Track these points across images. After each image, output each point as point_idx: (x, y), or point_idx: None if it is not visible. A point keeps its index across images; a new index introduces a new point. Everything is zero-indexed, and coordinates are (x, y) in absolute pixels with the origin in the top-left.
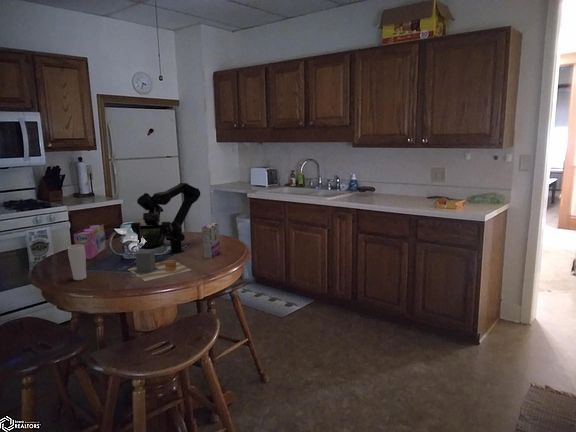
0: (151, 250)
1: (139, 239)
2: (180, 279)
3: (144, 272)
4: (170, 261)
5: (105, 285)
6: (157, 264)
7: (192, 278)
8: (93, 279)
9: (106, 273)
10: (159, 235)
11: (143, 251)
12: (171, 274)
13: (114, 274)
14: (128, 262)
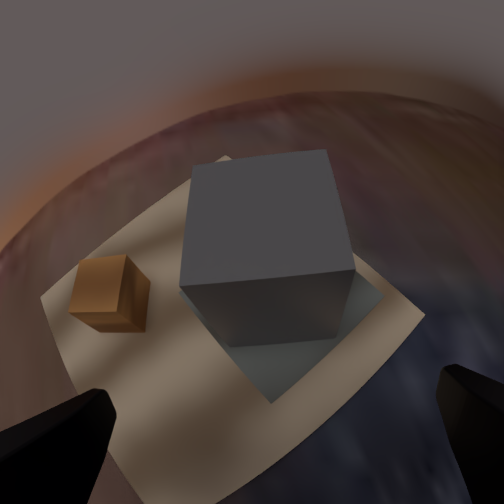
0: (196, 241)
1: (469, 381)
2: (92, 200)
3: None
4: (96, 280)
5: (382, 130)
6: (240, 428)
7: (56, 214)
8: (482, 183)
9: (495, 256)
10: (30, 436)
11: (275, 207)
12: (119, 233)
13: (447, 242)
14: None
